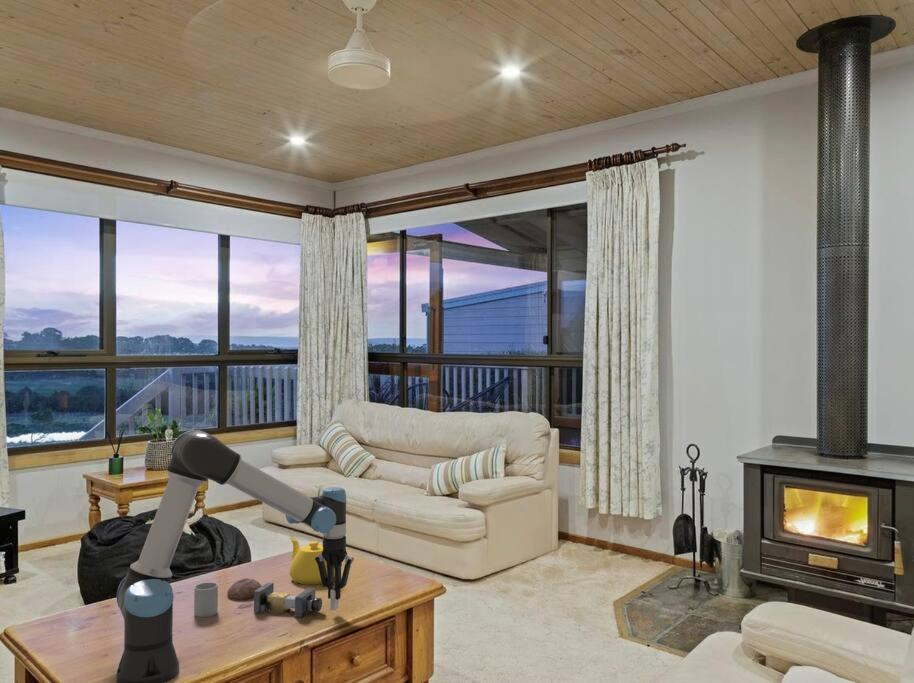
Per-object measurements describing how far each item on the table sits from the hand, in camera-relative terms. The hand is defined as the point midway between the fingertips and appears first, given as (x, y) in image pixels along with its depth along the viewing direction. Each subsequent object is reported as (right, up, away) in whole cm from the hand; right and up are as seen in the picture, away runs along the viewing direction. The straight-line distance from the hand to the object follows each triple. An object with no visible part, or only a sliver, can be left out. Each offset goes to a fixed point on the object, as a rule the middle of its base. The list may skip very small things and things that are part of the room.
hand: (334, 608), depth 223 cm
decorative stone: (-35, -3, +19) cm, 40 cm away
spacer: (-20, -2, +5) cm, 20 cm away
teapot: (-15, -3, +38) cm, 41 cm away
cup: (-43, -2, +3) cm, 43 cm away
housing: (-17, -2, +4) cm, 18 cm away
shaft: (-11, -1, +3) cm, 11 cm away
